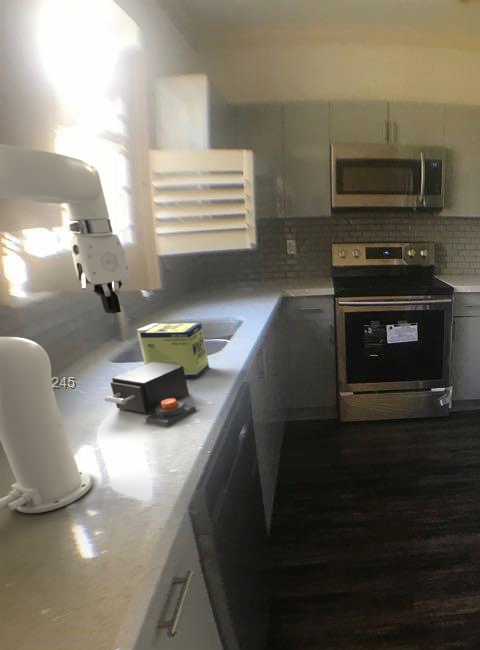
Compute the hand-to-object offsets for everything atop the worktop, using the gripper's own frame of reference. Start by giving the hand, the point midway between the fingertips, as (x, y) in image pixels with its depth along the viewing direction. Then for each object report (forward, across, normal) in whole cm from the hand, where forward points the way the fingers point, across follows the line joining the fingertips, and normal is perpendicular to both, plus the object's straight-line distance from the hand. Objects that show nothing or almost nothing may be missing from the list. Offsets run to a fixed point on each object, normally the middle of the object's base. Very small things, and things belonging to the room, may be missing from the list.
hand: (113, 312), depth 105 cm
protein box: (+29, +32, +18) cm, 47 cm away
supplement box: (+29, +38, +34) cm, 59 cm away
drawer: (+28, +8, +8) cm, 30 cm away
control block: (+29, +6, -4) cm, 30 cm away
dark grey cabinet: (+29, +12, +8) cm, 32 cm away
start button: (+26, +6, -4) cm, 27 cm away
